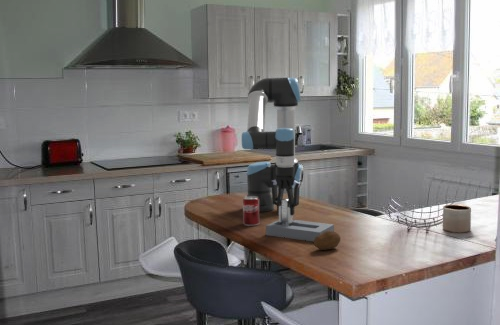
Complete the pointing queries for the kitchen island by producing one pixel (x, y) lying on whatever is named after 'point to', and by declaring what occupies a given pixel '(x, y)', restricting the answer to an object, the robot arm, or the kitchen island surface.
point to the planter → (456, 218)
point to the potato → (327, 240)
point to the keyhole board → (298, 229)
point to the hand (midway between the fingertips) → (285, 221)
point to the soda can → (251, 211)
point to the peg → (284, 212)
